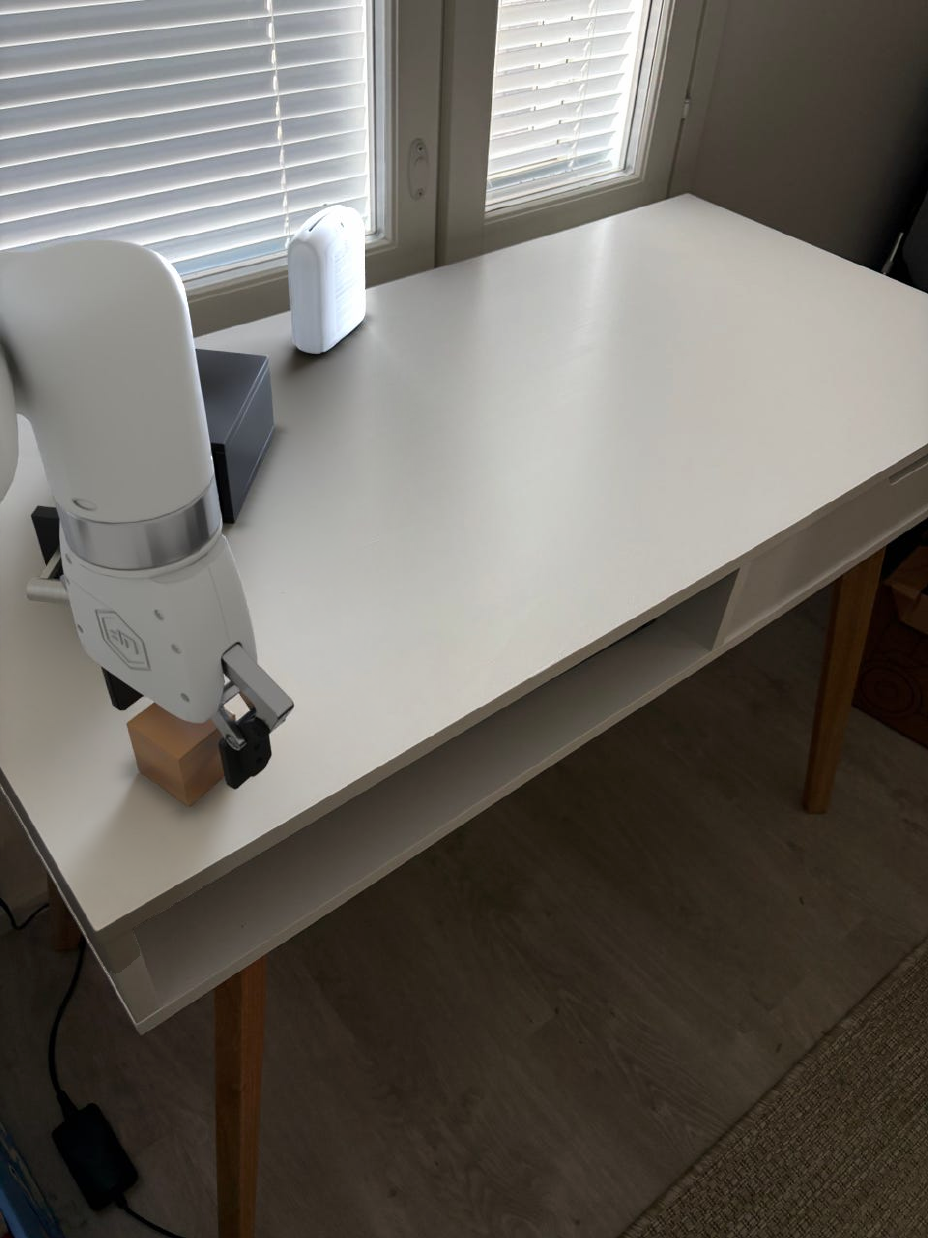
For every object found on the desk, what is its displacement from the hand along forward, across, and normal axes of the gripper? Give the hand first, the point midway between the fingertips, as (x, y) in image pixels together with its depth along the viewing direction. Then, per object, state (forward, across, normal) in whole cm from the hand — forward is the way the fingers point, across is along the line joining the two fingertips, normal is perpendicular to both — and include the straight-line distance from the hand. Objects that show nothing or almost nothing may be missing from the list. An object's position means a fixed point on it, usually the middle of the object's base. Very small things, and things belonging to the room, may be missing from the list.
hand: (191, 732), depth 61 cm
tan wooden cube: (+3, 0, 0) cm, 3 cm away
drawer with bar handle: (+2, -17, +10) cm, 20 cm away
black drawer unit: (+3, -24, +22) cm, 33 cm away
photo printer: (+4, -31, +48) cm, 57 cm away
